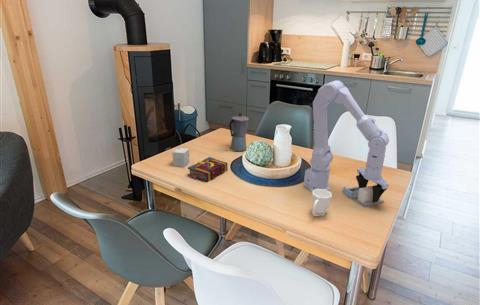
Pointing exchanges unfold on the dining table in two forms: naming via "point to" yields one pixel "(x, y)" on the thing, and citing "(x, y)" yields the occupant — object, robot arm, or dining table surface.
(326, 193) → the cup
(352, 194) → the grey ribbed plate
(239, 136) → the moka pot
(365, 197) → the block
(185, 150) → the skincare box
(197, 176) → the decorative book
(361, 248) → the dining table surface
